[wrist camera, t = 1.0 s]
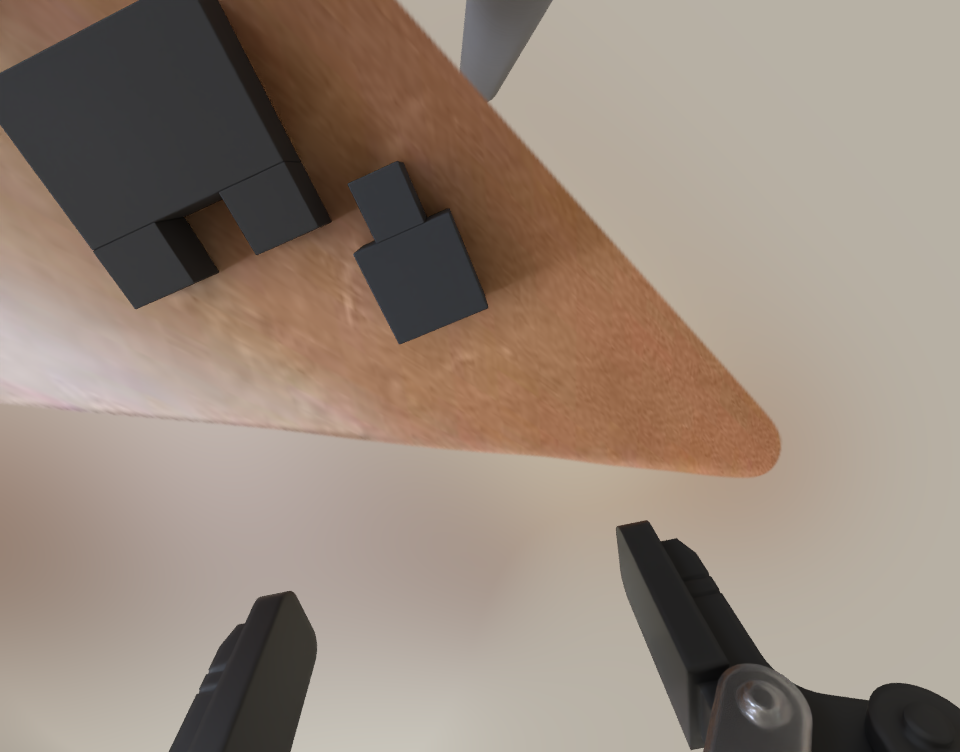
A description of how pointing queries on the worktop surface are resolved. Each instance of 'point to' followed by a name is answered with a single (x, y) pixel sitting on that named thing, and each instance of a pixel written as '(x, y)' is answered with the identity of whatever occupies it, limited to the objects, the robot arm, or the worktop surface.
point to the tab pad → (413, 257)
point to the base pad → (157, 142)
